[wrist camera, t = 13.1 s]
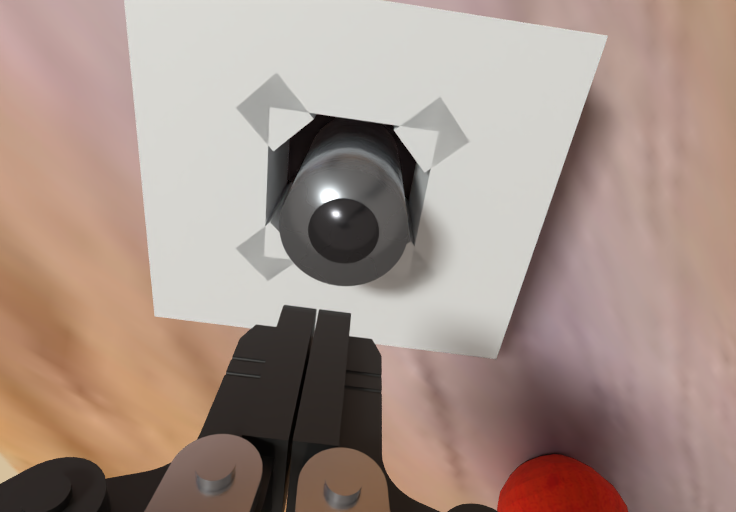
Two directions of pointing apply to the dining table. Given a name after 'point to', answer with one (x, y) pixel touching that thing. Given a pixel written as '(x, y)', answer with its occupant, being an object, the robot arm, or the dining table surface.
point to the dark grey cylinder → (347, 205)
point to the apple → (558, 488)
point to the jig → (360, 102)
